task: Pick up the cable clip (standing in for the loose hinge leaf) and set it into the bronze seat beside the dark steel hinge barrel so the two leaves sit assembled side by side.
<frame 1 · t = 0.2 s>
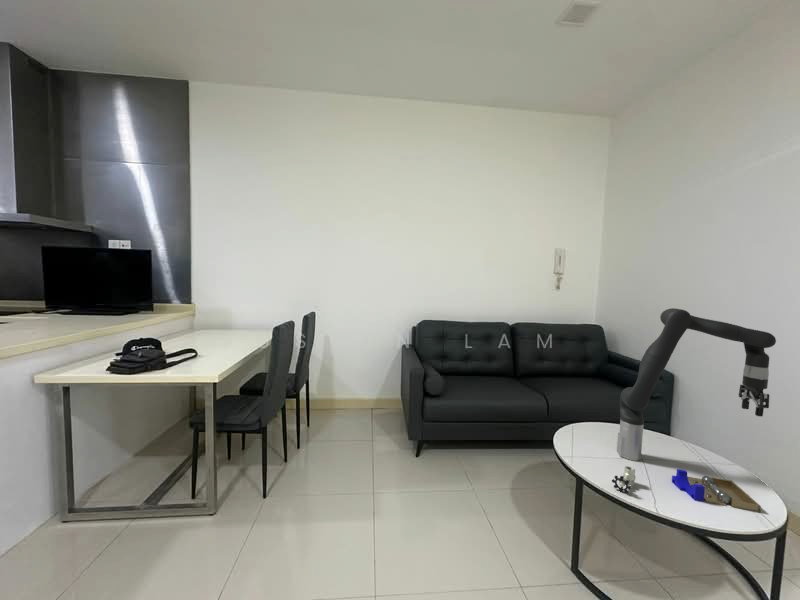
hand: (751, 412, 146), 29 cm above the table, tool pointing down, fingers open, 8 cm apart
hinge base: (715, 493, 134), on the table
cable clip: (686, 492, 135), on the table
valve: (625, 487, 137), on the table
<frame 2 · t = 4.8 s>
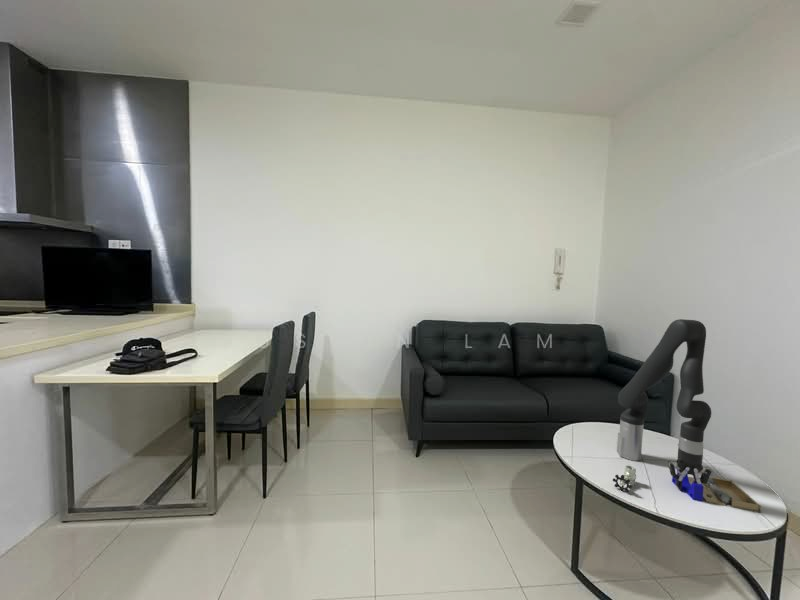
hand: (687, 489, 135), 1 cm above the table, tool pointing down, fingers closed on cable clip, 4 cm apart
cable clip: (686, 491, 135), on the table, touching gripper
when the fingers open (3 cm above the table, at t = 9.7 s): cable clip drops 1 cm, resting on hinge base.
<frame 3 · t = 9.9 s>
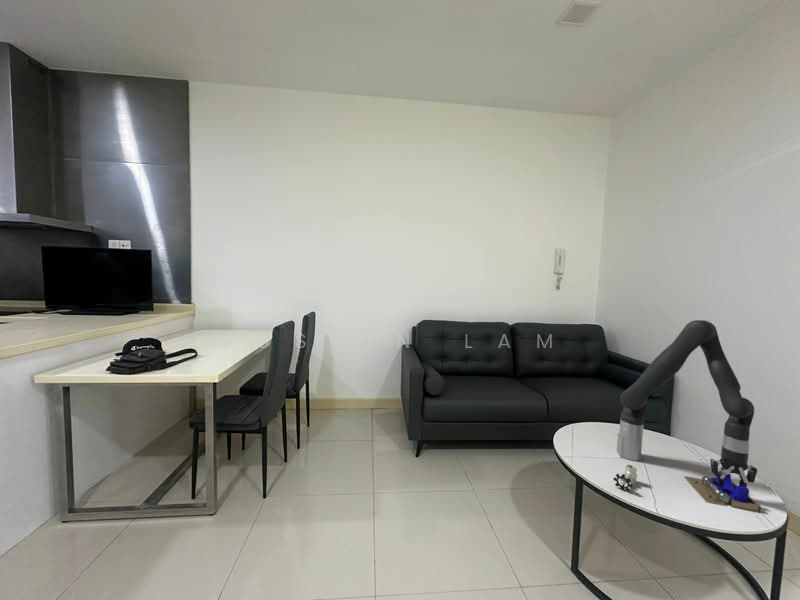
hand: (731, 488, 133), 3 cm above the table, tool pointing down, fingers open, 6 cm apart
cable clip: (729, 494, 133), resting on hinge base
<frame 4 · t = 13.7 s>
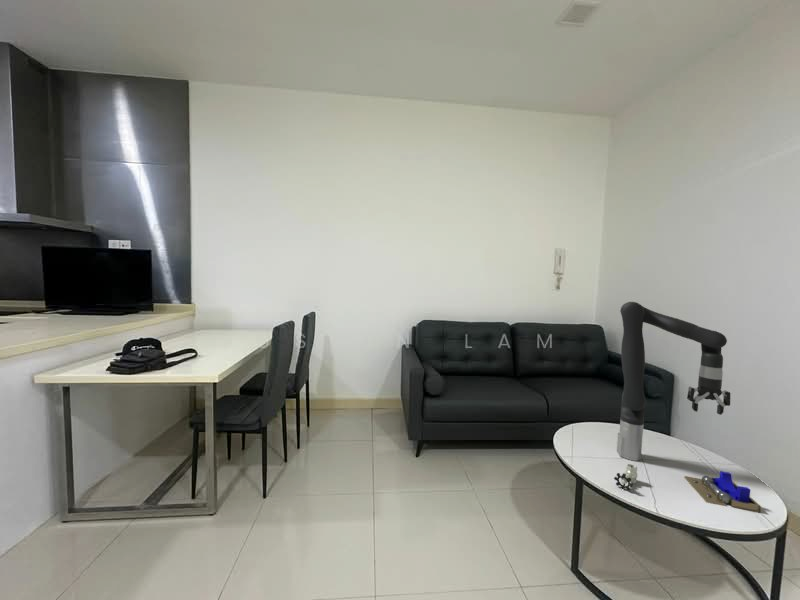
hand: (707, 412, 146), 28 cm above the table, tool pointing down, fingers open, 8 cm apart
at the end: cable clip inside the target area on the hinge base (0.4 cm from its centre), point 0.4 cm above the hinge base's base; the gripper is holding nothing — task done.
